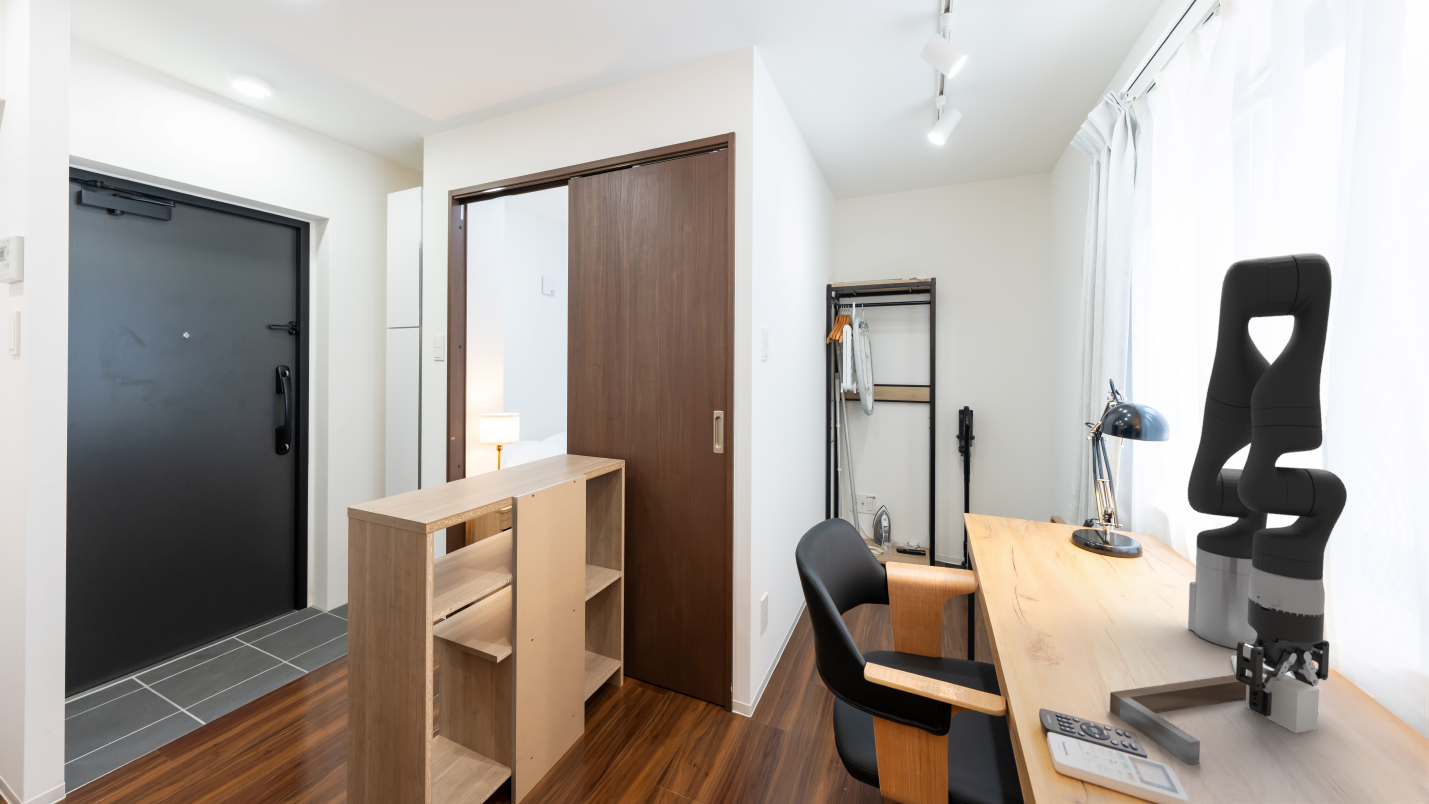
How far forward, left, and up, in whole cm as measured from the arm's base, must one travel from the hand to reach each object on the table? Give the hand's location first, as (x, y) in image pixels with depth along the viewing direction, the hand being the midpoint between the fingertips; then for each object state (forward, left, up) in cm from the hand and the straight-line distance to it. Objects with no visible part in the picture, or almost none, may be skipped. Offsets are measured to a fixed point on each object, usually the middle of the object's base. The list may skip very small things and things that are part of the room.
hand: (1280, 709), depth 77 cm
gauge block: (0, 0, -1) cm, 1 cm away
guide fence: (-1, -11, -1) cm, 11 cm away
